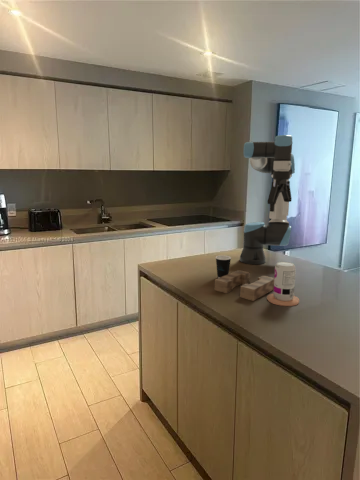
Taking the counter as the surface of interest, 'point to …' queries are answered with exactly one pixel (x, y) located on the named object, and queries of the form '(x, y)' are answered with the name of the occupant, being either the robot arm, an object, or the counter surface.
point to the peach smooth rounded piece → (283, 303)
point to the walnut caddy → (245, 284)
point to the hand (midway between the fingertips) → (278, 216)
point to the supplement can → (284, 281)
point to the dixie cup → (222, 265)
